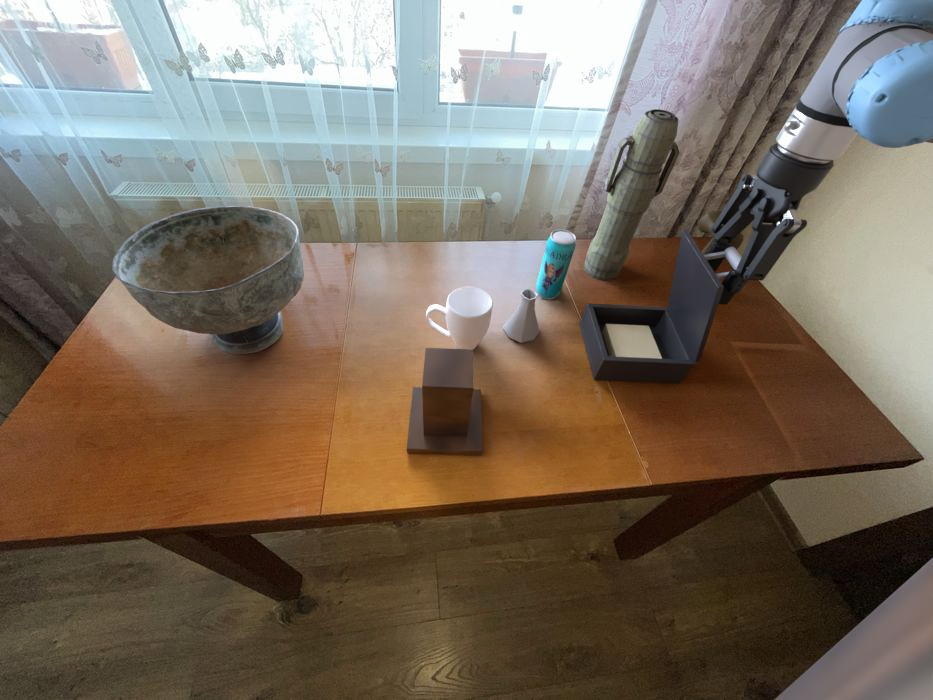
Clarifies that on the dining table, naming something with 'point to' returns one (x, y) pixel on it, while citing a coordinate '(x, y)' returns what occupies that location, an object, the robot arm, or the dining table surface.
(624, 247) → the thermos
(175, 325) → the decorative bowl
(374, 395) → the dining table surface
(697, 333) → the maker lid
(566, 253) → the beverage can
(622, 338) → the beige flat square block
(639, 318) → the open box
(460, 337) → the mug
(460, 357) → the stand
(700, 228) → the kendama
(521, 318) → the flask
